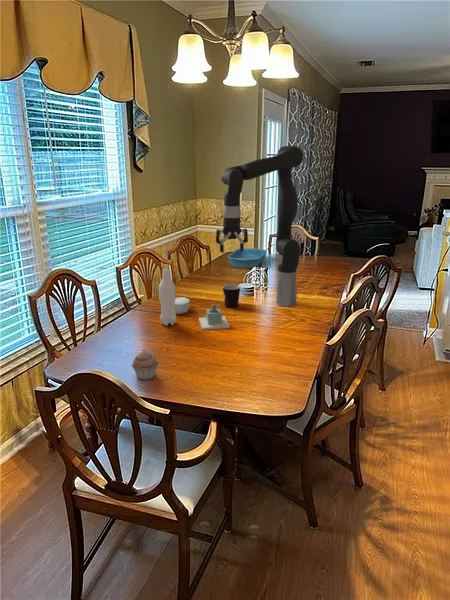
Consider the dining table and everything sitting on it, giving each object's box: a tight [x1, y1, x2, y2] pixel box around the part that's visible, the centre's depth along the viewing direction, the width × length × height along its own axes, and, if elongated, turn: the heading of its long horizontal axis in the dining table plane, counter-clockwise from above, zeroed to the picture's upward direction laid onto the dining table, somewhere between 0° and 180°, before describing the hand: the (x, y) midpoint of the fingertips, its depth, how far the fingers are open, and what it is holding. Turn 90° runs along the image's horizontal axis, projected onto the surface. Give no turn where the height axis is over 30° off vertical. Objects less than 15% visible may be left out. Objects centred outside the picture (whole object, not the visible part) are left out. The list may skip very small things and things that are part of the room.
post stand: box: [198, 303, 231, 331], centre depth 199 cm, size 12×12×9 cm
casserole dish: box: [227, 247, 268, 269], centre depth 303 cm, size 37×22×7 cm, turn 164°
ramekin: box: [174, 296, 191, 315], centre depth 215 cm, size 11×11×5 cm
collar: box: [205, 308, 223, 325], centre depth 199 cm, size 6×6×5 cm
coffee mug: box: [222, 283, 241, 309], centre depth 222 cm, size 12×9×10 cm
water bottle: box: [158, 268, 177, 327], centre depth 196 cm, size 7×7×25 cm
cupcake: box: [131, 349, 160, 381], centre depth 153 cm, size 9×9×10 cm
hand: (231, 252), depth 201 cm, fingers open, 8 cm apart
